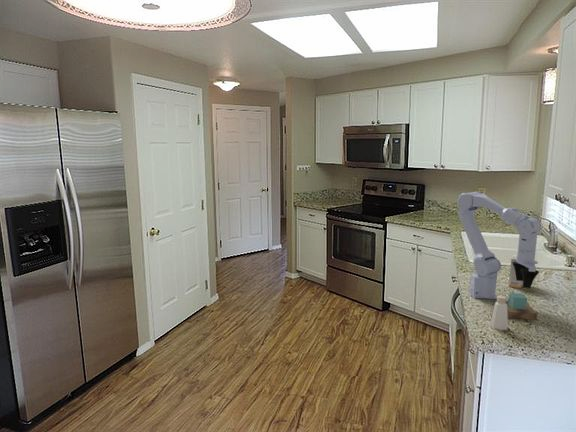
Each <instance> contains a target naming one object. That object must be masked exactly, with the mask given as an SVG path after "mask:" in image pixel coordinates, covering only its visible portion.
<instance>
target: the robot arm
mask: <svg viewBox="0 0 576 432" xmlns="http://www.w3.org/2000/svg"><path fill="white" fill-rule="evenodd" d="M456 204H457V207H458V208H457V209H458V218H459V220H460V223H461V226H462V227H463V229H464V232H465V234H466V236H467V238H468V241H469V243H470V245H471V248H472V250H473V253H474V258H473V264H474V270H475V273H476V274H475V273H474V274H471V276H470V284H469V293H470V295H472V297H473V298H474V299H489V300H490V299H491V300H497V296H498V295H497V293H496V291H497V280H498V272H499V271H501V269H502V263H501V261H500V260H499V259H498V258H497V257H496V255H495V253H493V252H492V251H490V250H489V248H488V246H487V243H486V241H485V238H484V237H483V235H482V232H481V230H480V228H479V225H478V223H477V220H476V219H475V214H476V212H477V211H478V209H479V208H480V207H481V208H482V207H483V208H484V209H487V210H489V211H492V212H493V213H495V214H497V215H499V216H500V217H501V220H502V221H503V222H506V223H507V224H508V225H511V226H512V227H514V228H515V229H517V231H518V234H519V237H518V247H517V254H516V255H517V256H516V262H512V264H513V266H514V269H515V273H516V280H517V281H523V285H522V287H523V288H527V289H528V288H529V289H531V287H532V285H533V283H534V280H535V278H536V277H537V276H538V275H539V271H538V270H537V269H536V268H537V266H536V265H537V264H539V263H538V261H537V260H536V252H537V240H538V232H539V231H540V230H541V229H542V223H541V222H540V220H539V219H538V218H537V217H535V216H534V217H533V216H529V214H525V213H523V212H521V211H518V208H517V207H508V208H506V207H504V206H503V205H502V204H500V203H498V202H497V201H495V200H494V199H492V198H490V197H488V195H486V194H485V193H482V192H481V191H473V192H462V193H461V194H459V195H458V198H457V200H456Z"/></svg>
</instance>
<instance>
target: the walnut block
mask: <svg viewBox="0 0 576 432" xmlns="http://www.w3.org/2000/svg"><path fill="white" fill-rule="evenodd" d="M508 302H509V300H506V302H505V304H507V316H508V319H515V320H516V319H517V320H518V319H519V320H533V321H534V320H535V321H536V320H537V319H538V313H537V311H536V310H534V308H532V307H531V305H530V304H528V303H527V304H526V310H522V309H512V308H511V307H510V306H509V304H508Z"/></svg>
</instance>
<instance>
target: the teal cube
mask: <svg viewBox="0 0 576 432" xmlns="http://www.w3.org/2000/svg"><path fill="white" fill-rule="evenodd" d="M527 302H528V298H527V296H526V295H525V294H523V293H517V292H509V293H508V304H509V306H510V307H511V308H512V309H522V310H526V304H528V303H527Z"/></svg>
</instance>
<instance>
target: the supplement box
mask: <svg viewBox="0 0 576 432" xmlns="http://www.w3.org/2000/svg"><path fill="white" fill-rule="evenodd" d="M517 255H518V254H514V255H513V256H512V257H511V258H510V266H509V279H508V280H509V282H508V287H509V288H515V289H521V288H522V287H523V281H517V280H516V273H515V269H514V266H513V264H512V262H516V256H517Z"/></svg>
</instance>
